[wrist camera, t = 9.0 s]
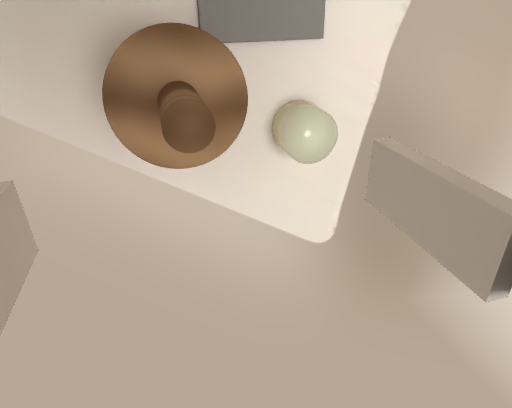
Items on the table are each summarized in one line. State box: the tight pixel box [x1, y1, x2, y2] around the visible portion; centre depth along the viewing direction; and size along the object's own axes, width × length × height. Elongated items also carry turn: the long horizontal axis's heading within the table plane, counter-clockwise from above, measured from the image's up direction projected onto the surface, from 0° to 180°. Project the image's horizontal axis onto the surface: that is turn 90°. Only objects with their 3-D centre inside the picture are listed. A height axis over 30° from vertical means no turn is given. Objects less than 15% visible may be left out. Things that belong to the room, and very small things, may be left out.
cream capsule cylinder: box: [272, 100, 338, 164], centre depth 41 cm, size 6×6×5 cm
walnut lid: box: [102, 23, 248, 169], centre depth 25 cm, size 11×11×8 cm
